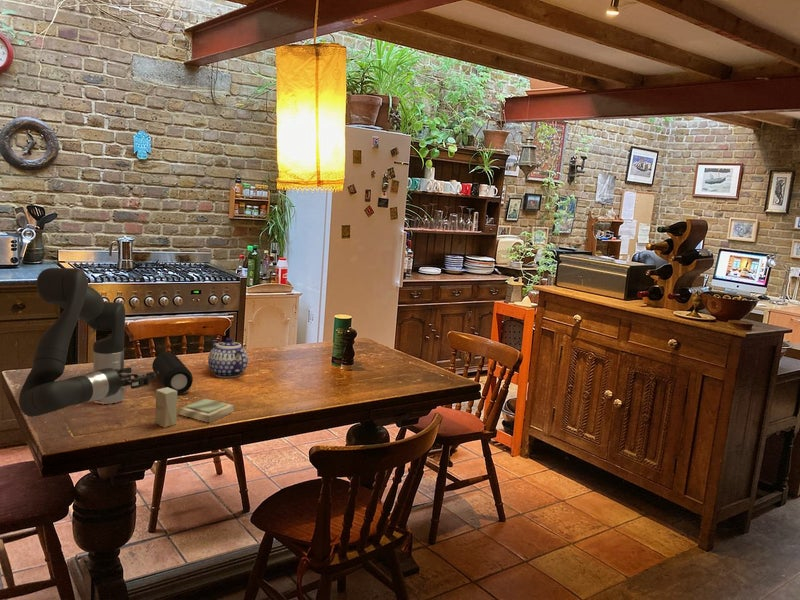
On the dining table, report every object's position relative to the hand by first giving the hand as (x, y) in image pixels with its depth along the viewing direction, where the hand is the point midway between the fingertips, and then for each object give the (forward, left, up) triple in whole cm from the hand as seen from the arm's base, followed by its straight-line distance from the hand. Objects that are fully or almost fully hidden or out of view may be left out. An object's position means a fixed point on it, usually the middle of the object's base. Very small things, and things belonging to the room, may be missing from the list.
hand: (141, 373), depth 185 cm
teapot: (-19, +64, -19) cm, 69 cm away
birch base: (+3, +25, -19) cm, 31 cm away
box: (-1, +11, -19) cm, 22 cm away
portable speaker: (-26, +41, -19) cm, 52 cm away
